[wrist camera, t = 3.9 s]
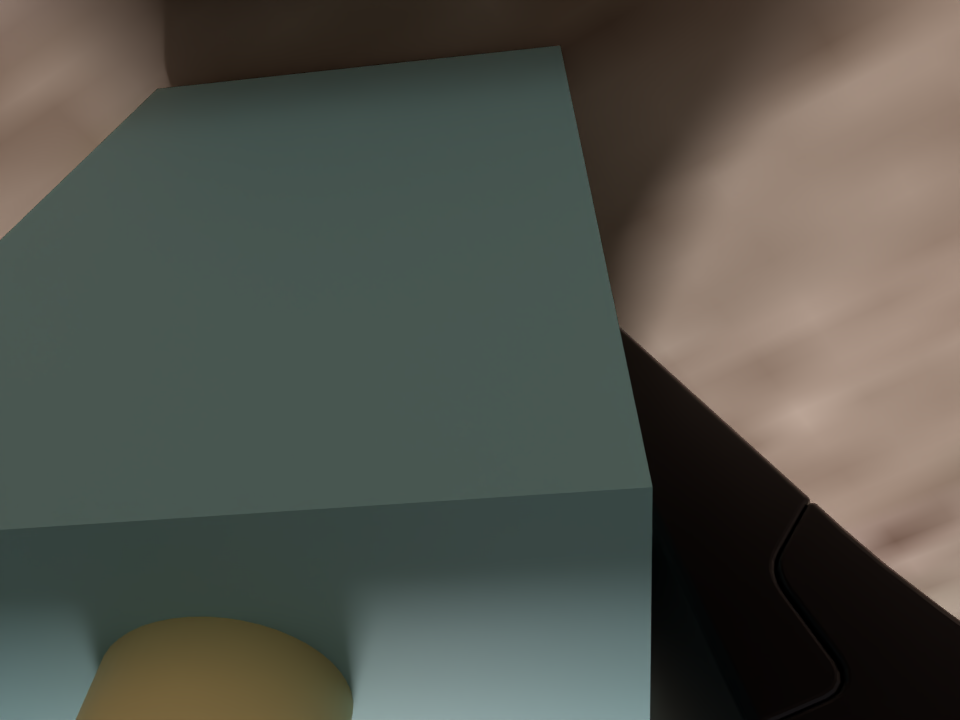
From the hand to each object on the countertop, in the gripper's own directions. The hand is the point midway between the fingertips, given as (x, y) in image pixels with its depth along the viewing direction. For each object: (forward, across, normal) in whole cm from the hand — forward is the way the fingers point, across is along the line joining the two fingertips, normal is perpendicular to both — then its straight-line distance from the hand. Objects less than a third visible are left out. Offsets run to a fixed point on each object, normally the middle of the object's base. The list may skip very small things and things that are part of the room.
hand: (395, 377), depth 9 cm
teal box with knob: (+1, 0, 0) cm, 1 cm away
